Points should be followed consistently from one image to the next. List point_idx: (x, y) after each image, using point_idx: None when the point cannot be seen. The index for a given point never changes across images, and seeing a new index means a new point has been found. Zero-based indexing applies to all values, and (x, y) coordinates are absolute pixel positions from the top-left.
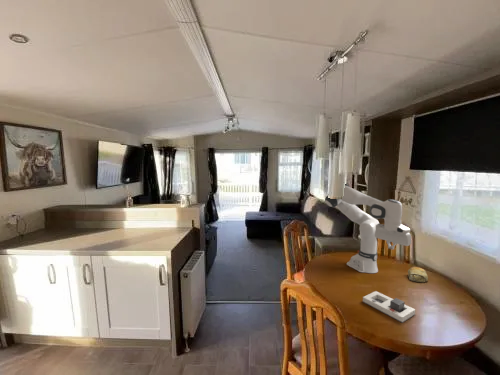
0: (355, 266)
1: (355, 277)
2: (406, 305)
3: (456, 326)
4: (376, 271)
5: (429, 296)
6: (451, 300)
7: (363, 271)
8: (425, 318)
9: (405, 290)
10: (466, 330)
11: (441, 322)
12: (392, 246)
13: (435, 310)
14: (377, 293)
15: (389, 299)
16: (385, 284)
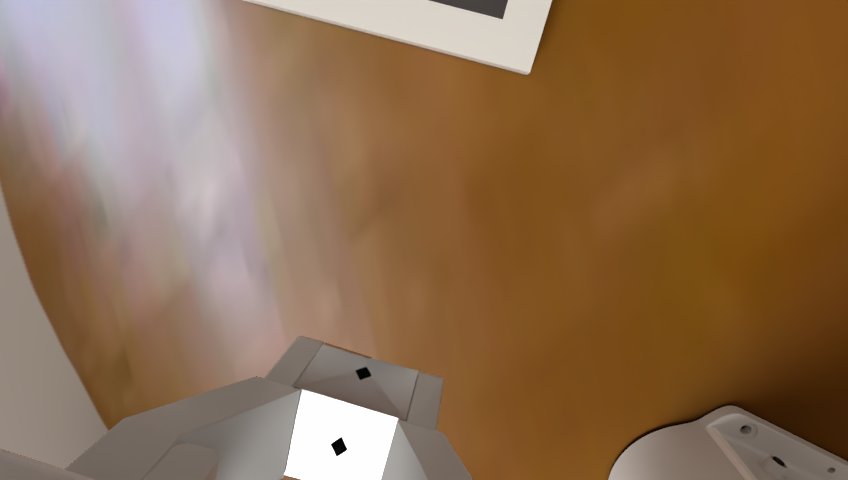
0: (797, 469)
1: (748, 284)
2: (284, 4)
3: (60, 53)
4: (615, 476)
5: (253, 328)
6: (160, 357)
7: (710, 419)
8: (191, 6)
9: (379, 314)
10: (18, 48)
11: (120, 33)
12: (279, 388)
13: (182, 165)
14: (508, 35)
15: (404, 2)
16: (510, 317)
